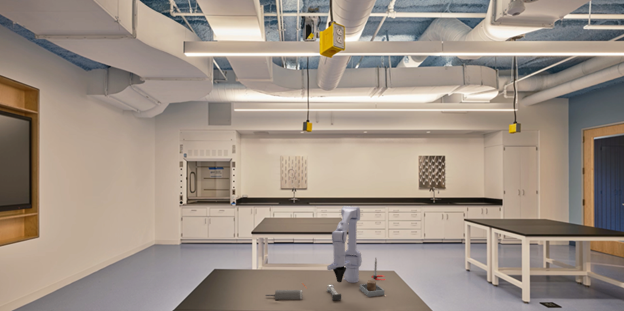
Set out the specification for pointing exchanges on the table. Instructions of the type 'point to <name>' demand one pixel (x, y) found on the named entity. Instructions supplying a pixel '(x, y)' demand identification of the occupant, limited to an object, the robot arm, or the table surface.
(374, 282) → the block
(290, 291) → the motor
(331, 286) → the crank lever
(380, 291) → the tray
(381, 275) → the tow hook
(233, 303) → the table surface
